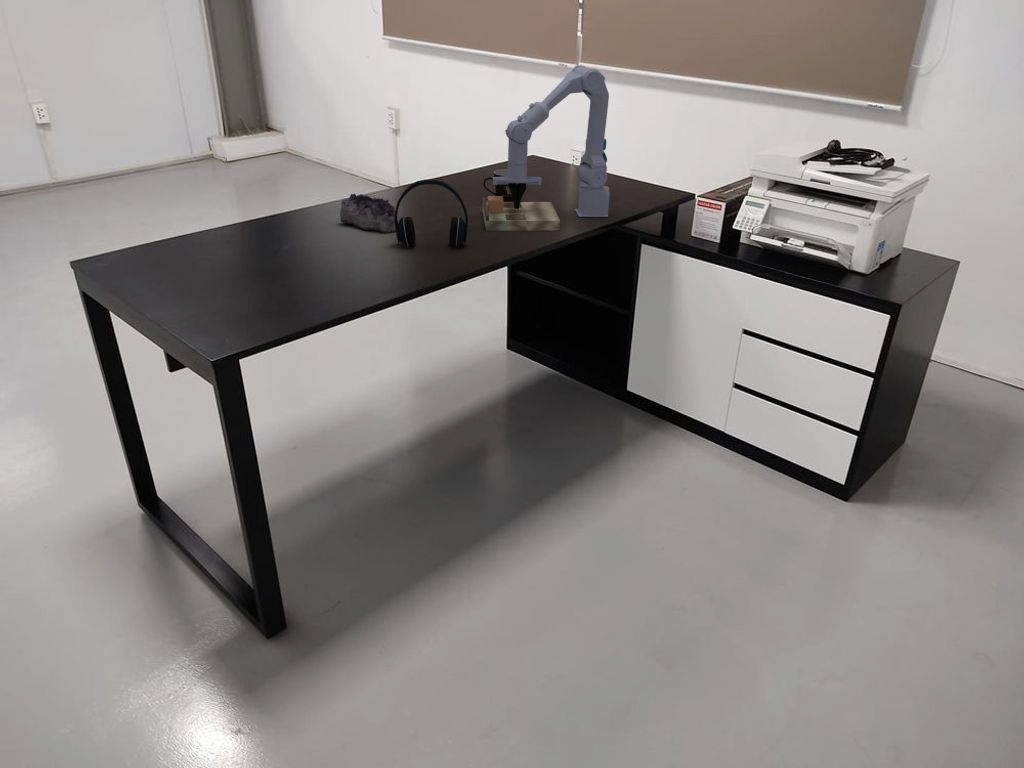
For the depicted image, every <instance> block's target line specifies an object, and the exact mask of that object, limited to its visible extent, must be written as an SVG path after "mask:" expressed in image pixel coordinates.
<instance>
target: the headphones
mask: <svg viewBox="0 0 1024 768" xmlns="http://www.w3.org/2000/svg"><path fill="white" fill-rule="evenodd" d="M423 185H436V186H440V187H443V188H445V189H447V190H448V191H450V192H451V193H452V194H453V195H454V196H455V197H456V198H457V199H458V201H459V203H460V204H461V207H462V209H463V212H464V213H463V214H464V218H462V217H458V216H457V217H455V216H454V217H453V216H452V217H451V218H450V227H449V228H450V229H449V237H448V242H449V243H448V245H449V246H451V247H456V248H457V247H458V248H460V247H461V245H462V244H463V243H467V235H468V224H469V219H468V218H469V217H468V212H467V211H468V210H467V208H466V205H465V203H464V200H463V199H462V197H461V195H460V194H459V192H458V191H457V190H456V189H455V188H454V187H453V186H451V184H449V183H447V182H445V181H443V180H439V179H431V178H430V179H429V178H428V179H421V180H416V181H415V182H413V183H411V184H410V185H409V186H408V187H406V189H404V191H402V193H401V195H400V196H399V199H398V200H397V203H396V206H395V207H396V208H395V230H396V232H395V236H396V241H397V243H401V244H402V245H403V246H404V247H413V246H415V245H416V243H417V236H416V232H415V231H416V230H415V225H414V220H413V217H412V216H405V217H404V216H402V217H400V219H399V220H398V213H399V208H400V207H399V206H400V204H401V202H402V200H403V198H405V196H406V195H407V194H409V192H410V191H411V190H414V188H415V189H416V187H419V186H423ZM463 219H465V221H464V220H463Z"/></svg>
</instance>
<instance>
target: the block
mask: <svg viewBox="0 0 1024 768" xmlns="http://www.w3.org/2000/svg"><path fill="white" fill-rule="evenodd" d="M487 202H488V213H503V197H502V196H495V195H492V196H491V195H489V196H487Z"/></svg>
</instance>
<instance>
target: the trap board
mask: <svg viewBox="0 0 1024 768" xmlns="http://www.w3.org/2000/svg"><path fill="white" fill-rule="evenodd" d="M482 216H483V222H484V225H485V226H484V227H485V231H486V232H488V231H489V232H495V231H496V232H498V231H499V232H500V231H501V232H503V231H505V232H506V231H507V232H508V231H509V232H511V231H512V232H513V231H514V232H516V231H518V232H519V231H521V232H522V231H523V232H524V231H525V232H526V231H529V232H530V231H536V232H537V231H538V232H539V231H542V232H543V231H544V232H545V231H547V232H548V231H550V232H551V231H553V232H554V231H560V228H561V219H560V217H559V215H558V213H557V211H556V209H555V207H554V205H553V203H552V202H551V201H521V202H520V205H519V209H514V202H503V213H488V201H487V200H486V197H482Z"/></svg>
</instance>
